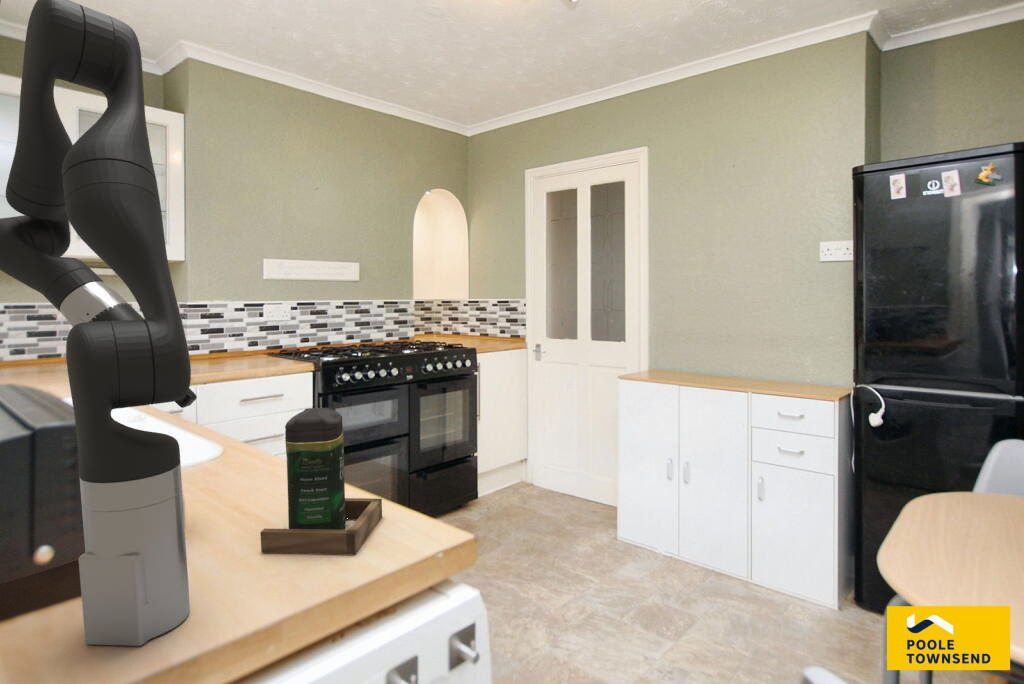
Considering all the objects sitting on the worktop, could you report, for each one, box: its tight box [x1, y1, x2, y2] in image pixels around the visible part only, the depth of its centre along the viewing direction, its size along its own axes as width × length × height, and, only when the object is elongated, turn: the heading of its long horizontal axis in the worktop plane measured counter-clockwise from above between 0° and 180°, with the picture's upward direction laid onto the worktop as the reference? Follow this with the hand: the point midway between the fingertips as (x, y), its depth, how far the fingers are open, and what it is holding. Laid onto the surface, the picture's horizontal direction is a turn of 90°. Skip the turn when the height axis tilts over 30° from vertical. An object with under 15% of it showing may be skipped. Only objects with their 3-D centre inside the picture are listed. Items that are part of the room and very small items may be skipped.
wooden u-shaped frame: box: [259, 497, 383, 555], centre depth 89 cm, size 13×13×3 cm
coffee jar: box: [284, 407, 347, 530], centre depth 89 cm, size 10×8×19 cm
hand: (190, 402), depth 89 cm, fingers closed
